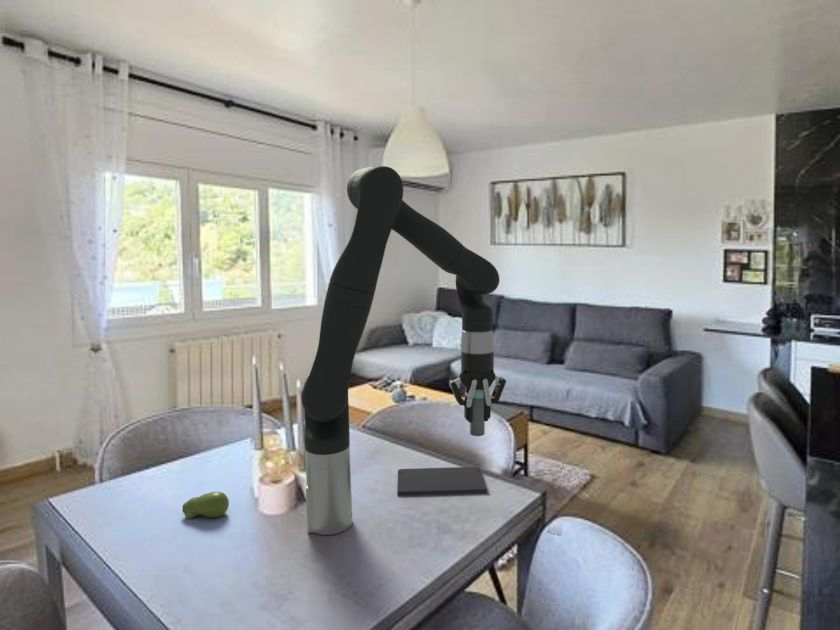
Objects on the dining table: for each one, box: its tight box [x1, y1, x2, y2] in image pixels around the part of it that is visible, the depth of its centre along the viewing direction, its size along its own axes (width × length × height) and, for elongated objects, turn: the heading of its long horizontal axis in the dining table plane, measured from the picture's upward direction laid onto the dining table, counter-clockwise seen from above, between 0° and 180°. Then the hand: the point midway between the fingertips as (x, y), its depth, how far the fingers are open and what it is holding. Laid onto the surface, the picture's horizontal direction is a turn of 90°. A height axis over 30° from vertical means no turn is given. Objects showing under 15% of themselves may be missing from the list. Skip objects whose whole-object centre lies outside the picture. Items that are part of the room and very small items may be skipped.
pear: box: [182, 491, 230, 520], centre depth 116 cm, size 6×5×10 cm
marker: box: [469, 389, 486, 437], centre depth 123 cm, size 4×4×11 cm
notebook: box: [396, 466, 488, 497], centre depth 130 cm, size 13×2×21 cm
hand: (477, 420), depth 124 cm, fingers closed on marker, 3 cm apart
